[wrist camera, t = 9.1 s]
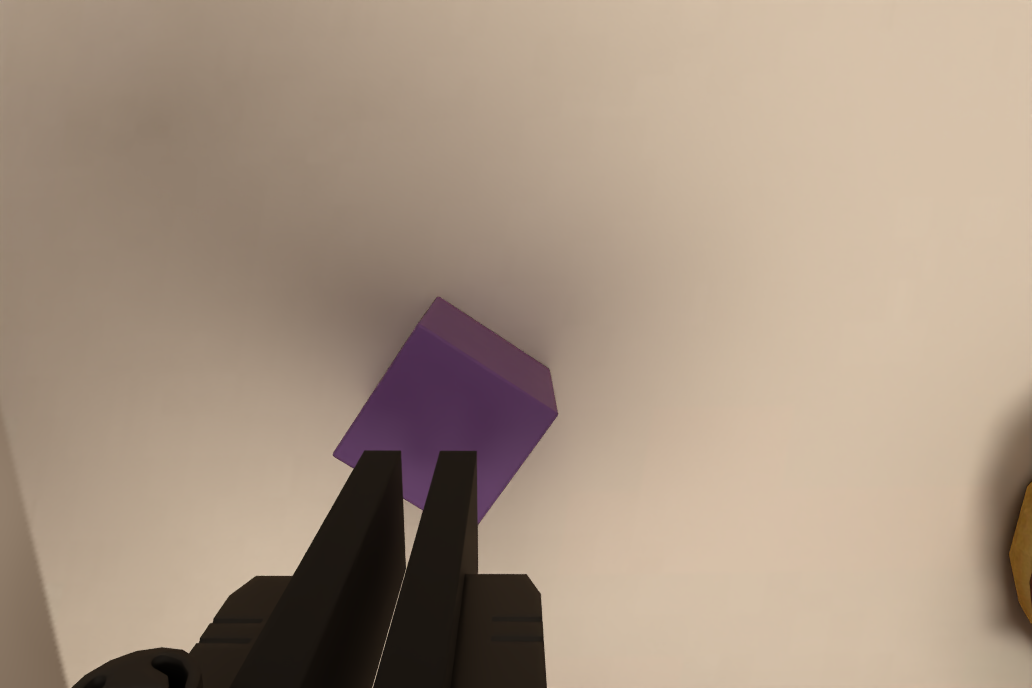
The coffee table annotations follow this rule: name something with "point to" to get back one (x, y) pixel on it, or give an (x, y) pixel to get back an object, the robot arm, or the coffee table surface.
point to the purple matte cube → (455, 405)
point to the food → (1023, 555)
